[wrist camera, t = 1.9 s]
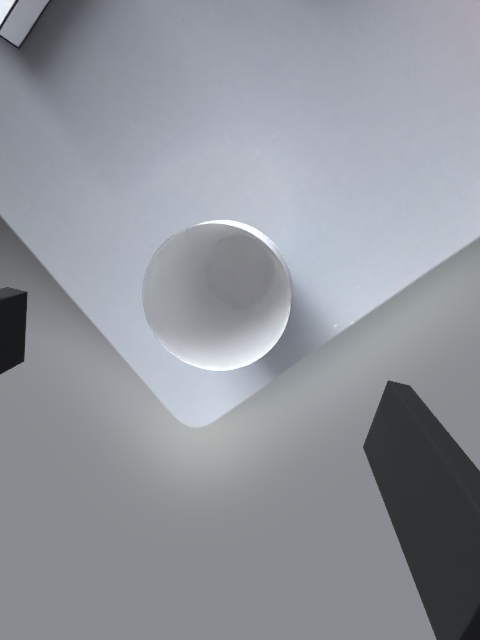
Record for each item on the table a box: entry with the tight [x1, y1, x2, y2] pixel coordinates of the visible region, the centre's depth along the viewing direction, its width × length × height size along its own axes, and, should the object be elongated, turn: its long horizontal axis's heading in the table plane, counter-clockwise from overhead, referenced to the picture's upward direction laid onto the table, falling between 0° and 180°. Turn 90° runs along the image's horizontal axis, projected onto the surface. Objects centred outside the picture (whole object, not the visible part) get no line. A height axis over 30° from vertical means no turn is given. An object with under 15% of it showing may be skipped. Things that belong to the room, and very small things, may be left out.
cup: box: [142, 220, 292, 371], centre depth 26 cm, size 9×9×12 cm
